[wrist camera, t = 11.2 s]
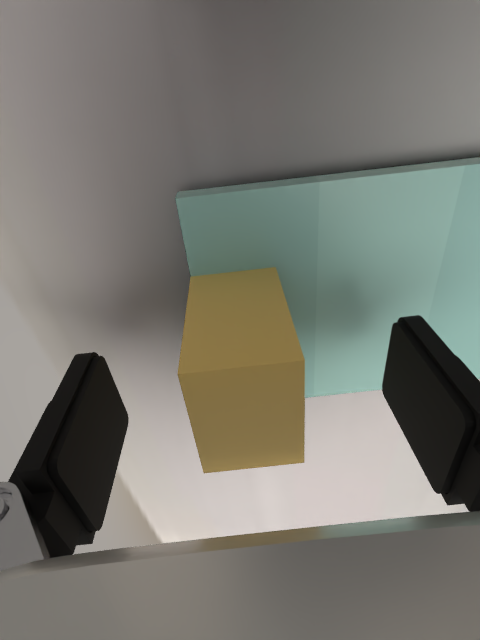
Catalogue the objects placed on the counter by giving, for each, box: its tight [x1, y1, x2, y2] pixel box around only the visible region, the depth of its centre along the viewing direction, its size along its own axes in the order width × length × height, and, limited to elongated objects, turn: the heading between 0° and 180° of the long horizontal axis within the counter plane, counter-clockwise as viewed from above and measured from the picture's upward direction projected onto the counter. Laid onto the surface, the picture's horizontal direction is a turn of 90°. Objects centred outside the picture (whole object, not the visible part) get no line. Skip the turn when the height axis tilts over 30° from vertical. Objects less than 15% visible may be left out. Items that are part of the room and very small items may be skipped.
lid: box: [175, 157, 480, 473], centre depth 12 cm, size 13×9×7 cm
